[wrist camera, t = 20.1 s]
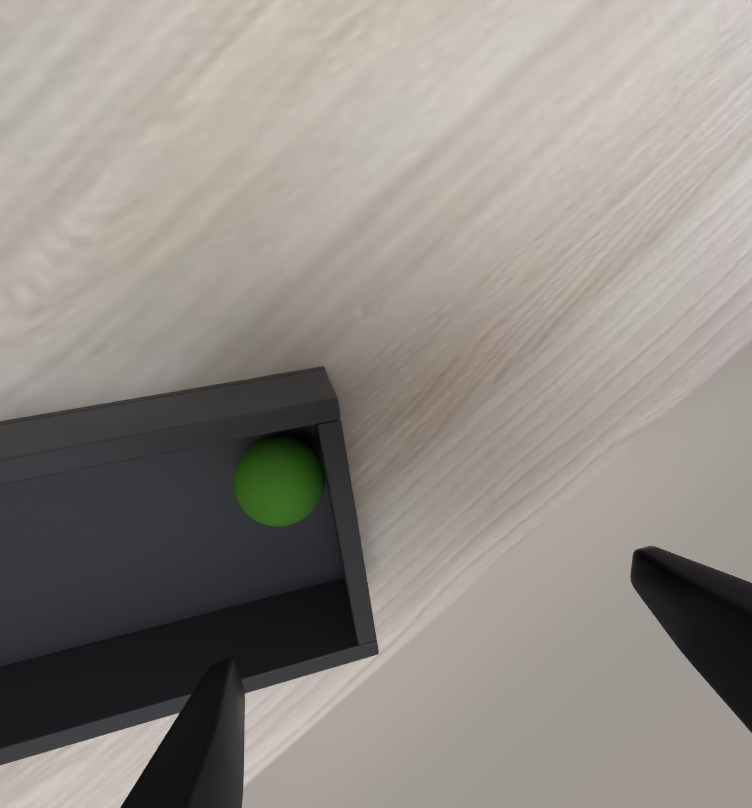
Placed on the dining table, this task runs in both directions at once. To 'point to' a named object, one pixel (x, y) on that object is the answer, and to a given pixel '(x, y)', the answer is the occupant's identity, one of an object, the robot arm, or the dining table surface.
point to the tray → (166, 558)
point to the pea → (279, 481)
